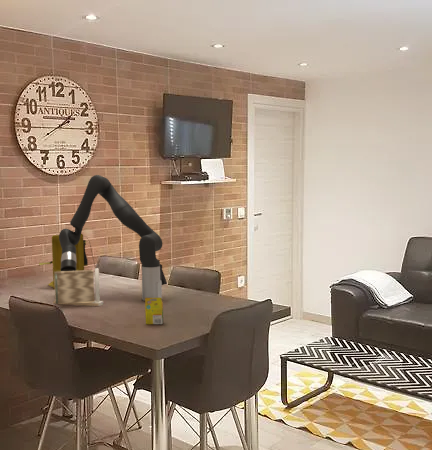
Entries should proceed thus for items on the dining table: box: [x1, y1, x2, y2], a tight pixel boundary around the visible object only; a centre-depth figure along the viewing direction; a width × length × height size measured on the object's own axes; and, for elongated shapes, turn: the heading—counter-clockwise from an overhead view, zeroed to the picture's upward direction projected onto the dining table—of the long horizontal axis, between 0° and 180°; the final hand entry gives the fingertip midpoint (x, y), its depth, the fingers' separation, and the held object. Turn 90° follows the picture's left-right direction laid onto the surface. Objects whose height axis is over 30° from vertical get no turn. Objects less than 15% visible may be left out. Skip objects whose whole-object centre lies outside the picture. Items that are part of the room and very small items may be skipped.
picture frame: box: [52, 267, 104, 307], centre depth 292 cm, size 25×5×18 cm, turn 76°
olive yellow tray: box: [38, 232, 96, 290], centre depth 338 cm, size 31×14×30 cm, turn 125°
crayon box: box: [144, 297, 164, 325], centre depth 255 cm, size 7×3×12 cm, turn 88°
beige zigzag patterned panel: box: [54, 269, 95, 305], centre depth 287 cm, size 18×2×15 cm, turn 103°
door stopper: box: [160, 263, 168, 286], centre depth 339 cm, size 9×6×12 cm, turn 124°
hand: (67, 292), depth 288 cm, fingers closed
